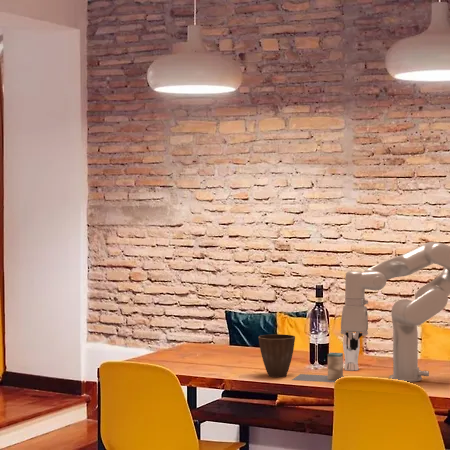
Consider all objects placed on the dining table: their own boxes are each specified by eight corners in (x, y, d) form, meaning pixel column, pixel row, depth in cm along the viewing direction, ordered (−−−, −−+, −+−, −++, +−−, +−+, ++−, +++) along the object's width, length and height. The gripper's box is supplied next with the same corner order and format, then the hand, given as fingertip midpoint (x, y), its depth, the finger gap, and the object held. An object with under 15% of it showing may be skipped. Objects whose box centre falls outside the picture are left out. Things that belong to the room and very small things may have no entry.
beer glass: (346, 371, 409) (346, 335, 409) (341, 368, 416) (340, 333, 416) (362, 370, 411) (362, 334, 410) (356, 367, 418) (356, 332, 417)
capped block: (342, 378, 390) (342, 353, 390) (340, 380, 385) (340, 354, 385) (330, 377, 391) (330, 352, 391) (327, 379, 387) (327, 354, 387)
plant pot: (251, 376, 398) (251, 337, 398) (270, 371, 410) (270, 333, 410) (283, 380, 390) (283, 339, 389) (302, 374, 402) (301, 335, 402)
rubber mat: (353, 378, 393) (353, 376, 393) (346, 384, 380) (346, 382, 380) (300, 375, 400) (300, 374, 400) (291, 381, 387) (291, 380, 387)
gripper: (375, 302, 386) (374, 349, 387) (337, 301, 391) (337, 347, 391) (372, 304, 379) (371, 352, 379) (333, 302, 384) (333, 349, 384)
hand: (353, 349), depth 385 cm, fingers closed
